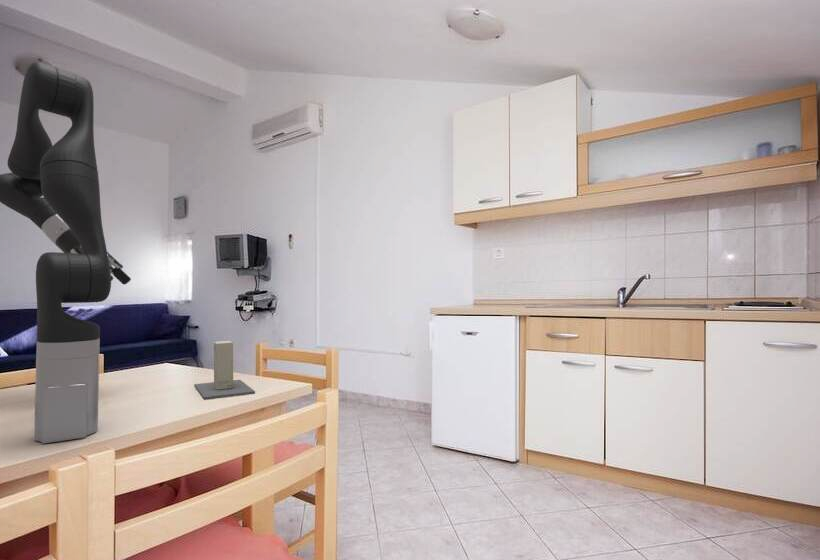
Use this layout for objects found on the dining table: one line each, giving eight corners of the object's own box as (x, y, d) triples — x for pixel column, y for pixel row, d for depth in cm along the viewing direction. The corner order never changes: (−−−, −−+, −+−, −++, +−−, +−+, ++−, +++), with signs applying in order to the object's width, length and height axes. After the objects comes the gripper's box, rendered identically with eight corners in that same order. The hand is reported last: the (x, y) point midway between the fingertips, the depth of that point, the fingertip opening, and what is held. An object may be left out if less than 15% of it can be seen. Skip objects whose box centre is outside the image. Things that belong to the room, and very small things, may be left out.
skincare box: (233, 388, 116) (234, 342, 117) (215, 390, 114) (215, 343, 114) (230, 384, 122) (231, 340, 122) (212, 386, 120) (213, 341, 120)
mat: (255, 393, 113) (255, 391, 113) (204, 399, 107) (204, 397, 107) (239, 381, 129) (239, 379, 129) (194, 386, 122) (194, 384, 122)
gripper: (63, 220, 102) (116, 269, 104) (98, 228, 116) (144, 272, 118) (37, 242, 101) (91, 292, 103) (75, 248, 116) (122, 292, 117)
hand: (119, 281), depth 110 cm, fingers open, 8 cm apart
